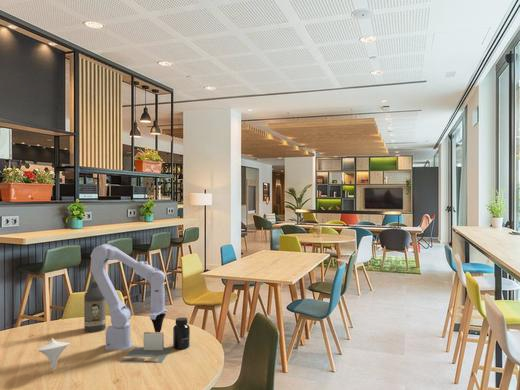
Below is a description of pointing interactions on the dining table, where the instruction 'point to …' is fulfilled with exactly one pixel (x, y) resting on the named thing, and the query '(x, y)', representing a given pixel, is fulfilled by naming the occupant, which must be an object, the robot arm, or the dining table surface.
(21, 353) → the dining table surface
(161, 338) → the tile
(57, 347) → the white spinning top
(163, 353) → the mat
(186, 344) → the supplement bottle
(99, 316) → the liquor
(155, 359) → the turner
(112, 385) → the dining table surface
